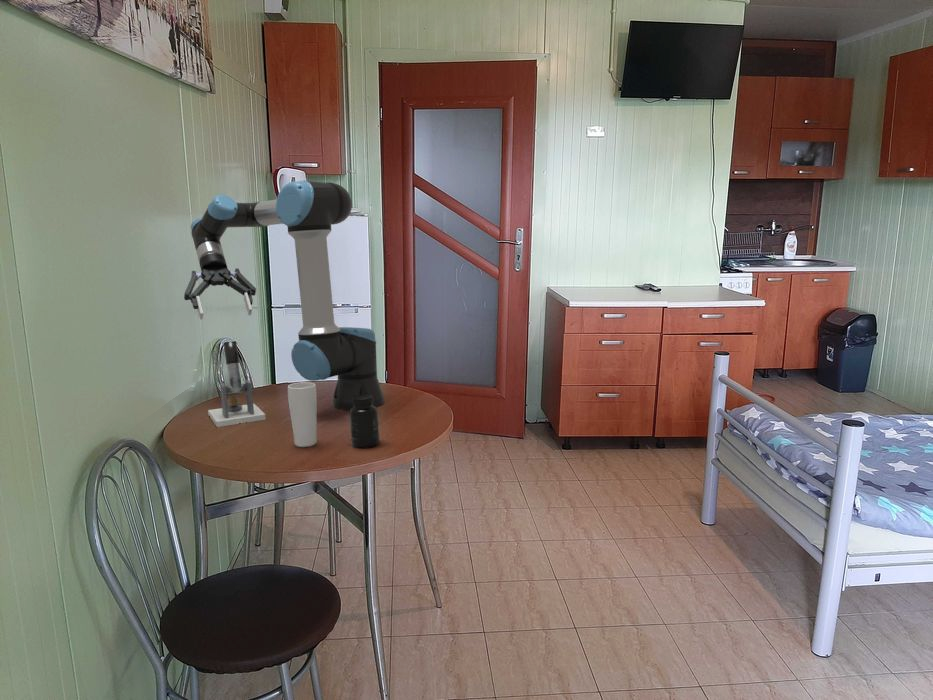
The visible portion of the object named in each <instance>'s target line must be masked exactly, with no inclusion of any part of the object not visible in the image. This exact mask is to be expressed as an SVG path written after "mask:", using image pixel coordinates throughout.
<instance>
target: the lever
mask: <svg viewBox="0 0 933 700" xmlns="http://www.w3.org/2000/svg"><path fill="white" fill-rule="evenodd" d="M223 349H224V356H225V364H226V365H227V372H228V373H227V375H228V381H229V385H225V386H226V392H227V395H228V394H236V393H243V392H246V391H247V387H246V383H245V382H244V383H242V379H241V372H240V358H239V352H238V351H239V350H238V343H237V341H235V340H233V341H231V340H230V341H225V342H223Z"/></svg>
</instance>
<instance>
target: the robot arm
mask: <svg viewBox="0 0 933 700" xmlns="http://www.w3.org/2000/svg"><path fill="white" fill-rule="evenodd" d="M352 209H353V201H352V197H351V194H350V193H349V192H348V190H347V189H346V188H345V187H343V186H342V185H340V184H338V183H335V182H328V181H327V182H326V181H325V182H323V181H312V180H311V181H310V180H297V181H296V180H295V181H290V182H287V183H286V184H285V185H284V186H283V187H282V188H281V189H280V191H279V193H278V195H277V198H276V199H270V200H263V201H256V202H236V201H235V199H234V198H232V197H231V196H228V195H227V196H226V194H217V195H215V196H214V197H213V198H212V200H211V201H210V203H209V204H208V206H207V208H206V211H205V212H204V214H203V216H202V217H197V218H196V219H195V220H193V221H192V223H191V225H190V230H191V231H190V232H191V239H192V240H193V243H194V248H195V250H196V255H197V260H198V262H199V267H200V271H201V272H197V271H196V270H191V276H190V279H189V281H188V284H187V286H186V289H185V291H184V295H183V299H184V300H185V301H190V303H191V304H192V308H193V309H194V310H197V313H198V317H199V320H204V311H203V307H202V303H201V298H200V296H201V295H202V294H203V292H204V291H205V290H206V289H208V288H209V287H210V286H212V287H216V286H224V285H225V286H226V287H227V288H231V289H233V290H234V291H236V292H238V293H239V294H241V295H242V296H243V301H244V305H245V307H246V312H247V315H248V316H252V311H253V309H252V305H253V300H254V299H253V296H256V292H257V288H256V287H255V285H253V284H252V283H251V282H250V281H249V280H248V279H247V277H245V276H244V275H243V274H242V273H241V271H240V269H239V268H235V269H234V270H232V271H231V270H229V268H228V265H227V261H226V258H225V254H224V251H223V248H222V244H221V237H222V236H223V235H224V234H225V232H226V230H227V229H228V228H263V227H269V226H272V225H273V226H274V225H285V226H287V234H288V235H289V236H291V238H292V239H294V248H295V258H296V259H295V260H296V268H297V278H298V288H299V300H300V309H301V319H302V327H301V328H300V330H299V331H298V332H297V333H298V334H297V335H298V341H297V342H295V343H294V344H293V347H292V348H291V353H290V354H291V362H292V365H293V367H294V369H295V370H296V372H297V373H298V374H299V375H300V376H301V377H302V378H303V379H305V380H307V381H309V382H310V381H311V382H312V381H313V382H316V381H320V380H321V381H324V380H327V379H329V378H333V377H337V382H336V385H335V388H334V392H333V396H332V403H333V404H332V405H333V407H334V408H336V409H340V410H341V409H342V410H351V409H352V408H353V407H354V406H353V397H354V396H357V395H371V396H372V397H373V404H372V405H373V406H374V407H376V408H377V407H380V406H381V404H382V405H383V404H384V403H385V396H384V392H383V389H382V387H381V384H380V382H379V379H378V369H377V340H376V335H375V331H374V330H373V329H371V328H366V327H349V326H348V327H347V326H344V327H343V326H342V327H341V326H340V327H339V326H337V325H336V324H335V317H334V304H333V294H332V293H333V292H332V286H331V285H332V283H331V273H330V271H331V269H330V262H329V252H328V251H329V249H328V241H327V240H328V239H327V237H328V236H329V235H330V233H331V232H332V226H333V225H338V224H341V223H343V222H344V221H346V220H347V219H348V217H349V216H350V215H351V212H352ZM200 278H201V279H202V282H201V283H200V284H199V285H198V286H197V287H196V288H195V286H196V282H197V281H198V280H200ZM194 289H195V290H194ZM193 290H194V291H193Z"/></svg>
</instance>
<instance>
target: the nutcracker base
mask: <svg viewBox="0 0 933 700" xmlns="http://www.w3.org/2000/svg"><path fill="white" fill-rule="evenodd" d="M245 383H246V387H247V391H245V392H246V396H245V397H246V404H243V405H242V404H239V403H240V399H239V396H237V395H230V396H229V397H228V396H227V395H228V394H227V392H226V386H227V385H225V384H224V383H221V382H220V383H219V387H220V388H219V389H220V397H221V398H220V399H221V408H214V409H208V410H207V415H208V416H210V417H209V419H210V420H211V421H212V422H213V424H214V425H215V426H216V427H217V428H221V427H226V426H227V427H228V426H233V425H239V423H241V424H246V422H247V423H252V422H253V423H254V422H258V421H259V422H260V421H266V419H267V418H266V413H265V412H263V410H261V409H260V408H259V407H258V405H256V404H255V403H254V397H253V385H252V384H253V383H252V382H251V381H250V380H249V379H246V380H244V384H245Z"/></svg>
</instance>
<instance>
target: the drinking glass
mask: <svg viewBox="0 0 933 700" xmlns="http://www.w3.org/2000/svg"><path fill="white" fill-rule="evenodd" d="M317 397H318V394H317V384H316V383H314V382H312V381H311V382H310V381H301V382H295V383H291V384H288V386H287V399H288V400H287V401H288V408H289V413H290V420H291V421H290V422H291V428H292V432H293V439H294V440H293V443H294V445H295V447H298V448H308V447H312V446H314V445H315V444H317V420H318V419H317V414H318V411H317V410H318V398H317Z"/></svg>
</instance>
